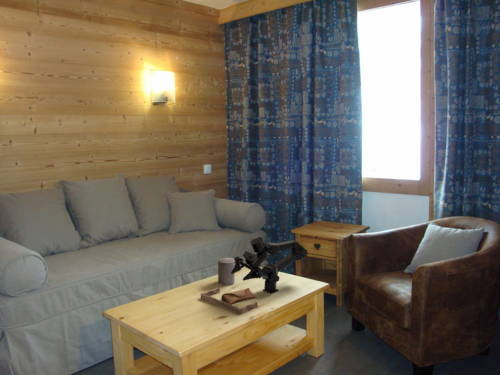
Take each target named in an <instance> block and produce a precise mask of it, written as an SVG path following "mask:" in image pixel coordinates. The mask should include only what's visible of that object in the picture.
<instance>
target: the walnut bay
mask: <svg viewBox="0 0 500 375" xmlns="http://www.w3.org/2000/svg"><path fill="white" fill-rule="evenodd" d="M220 293H221V292H220V287H216V288H213V289H210V290H208V291H205V292H203V293H202V292H201V293H200V299H201V300H204V301H206V302H209V303H211V304H213V305H216V306H218V307H220V308H223V309H225V310H227V311H229V312H230V311H231V312H233V313H235V314H237V315H243V314H245V313H247V312H250V311H251V310H253V309H257V308H258V302H257V301H254V302H252V303H249V304H247V305H245V306H242V307H238V306H235V305H234V304H231V305H230V304H228V303H226V302H224V301H222V300H220V299H217V298H215V297H212V296H214V295H217V294H220Z"/></svg>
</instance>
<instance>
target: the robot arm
mask: <svg viewBox="0 0 500 375" xmlns="http://www.w3.org/2000/svg"><path fill="white" fill-rule="evenodd" d="M250 245H251V248H252V250H253V252H254V253H252V252H249V251H248V250H245V251H244V253H243V254H242V257H243V258H244V259H243V258H242V257H241V256H236V257H234V258H233V259H234V260H235V266H234V268H233V270H232V272H231V274H234V273H235V274H236V273H237V272H240V271H241V270H242V269H244V268H245V269H248V270H250V271H249V272H248V273H247V274H246V275H245V276H244V277H243V278H242V281H244V282H245V281H248V280H252V279H261V278H262V279H263V280H264V288H263V289H262V291H263V292H265V293H268V294H273V293H275V292H278V291H279V289H278V288H277V282H279V281H280V277H279V275H278V274H279V272H281V271H282V270H283V269H285V268H286V267H288V266H290V265H291V264H292V263H294V262H296V261H301V260H304V259H306V258H307V257H308V250H307V249H306V248H305V247H304V246H303V245H301V244H300V243H299V242H298V241H297V240H295V239H294V240H293V239H291V240H290V239H289V240H287V241H282V242H278V243H277V242H274V243H273V242H265V243H264V241H263V237H260V236H258V237H256V238H253V239H251V240H250ZM286 250H291V252H290V254H288V255H286V256H285V257H283V258H282V259H279V261H277V262H275V263H270V262H269V261H270V256H275V255H277V254H278V253H279V252H283V251H286ZM268 255H270V256H268ZM263 262H269V263H267V264H265V265H263V266H262V267H261V264H262V263H263Z"/></svg>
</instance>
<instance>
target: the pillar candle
mask: <svg viewBox="0 0 500 375" xmlns="http://www.w3.org/2000/svg"><path fill="white" fill-rule="evenodd" d="M217 262H218V263H217V265H218V266H217V267H218V270H217V272H218V273H217V279H218V280H217V284H219V285H221V286H231V285H234V284H235V274H236V273H234V274H231V272H232V270H233V268H234V266H235V260H234V258H232V257H220V258H218V261H217Z"/></svg>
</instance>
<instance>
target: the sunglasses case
mask: <svg viewBox="0 0 500 375" xmlns="http://www.w3.org/2000/svg"><path fill="white" fill-rule="evenodd" d="M220 298H221V300H220V301H223V302H225V303H228V304H230V305H234V304H237V303H241V302H246V301H249V300H252V299H256V298H257V296H255V294H254V293H253V292H252V291H251V290H250V288H249V287H247V288H245V289H240V290H239V289H238V290H236V291H232V292H229V293H226V292H225V293H224V294H222V295H221V297H220Z"/></svg>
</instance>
